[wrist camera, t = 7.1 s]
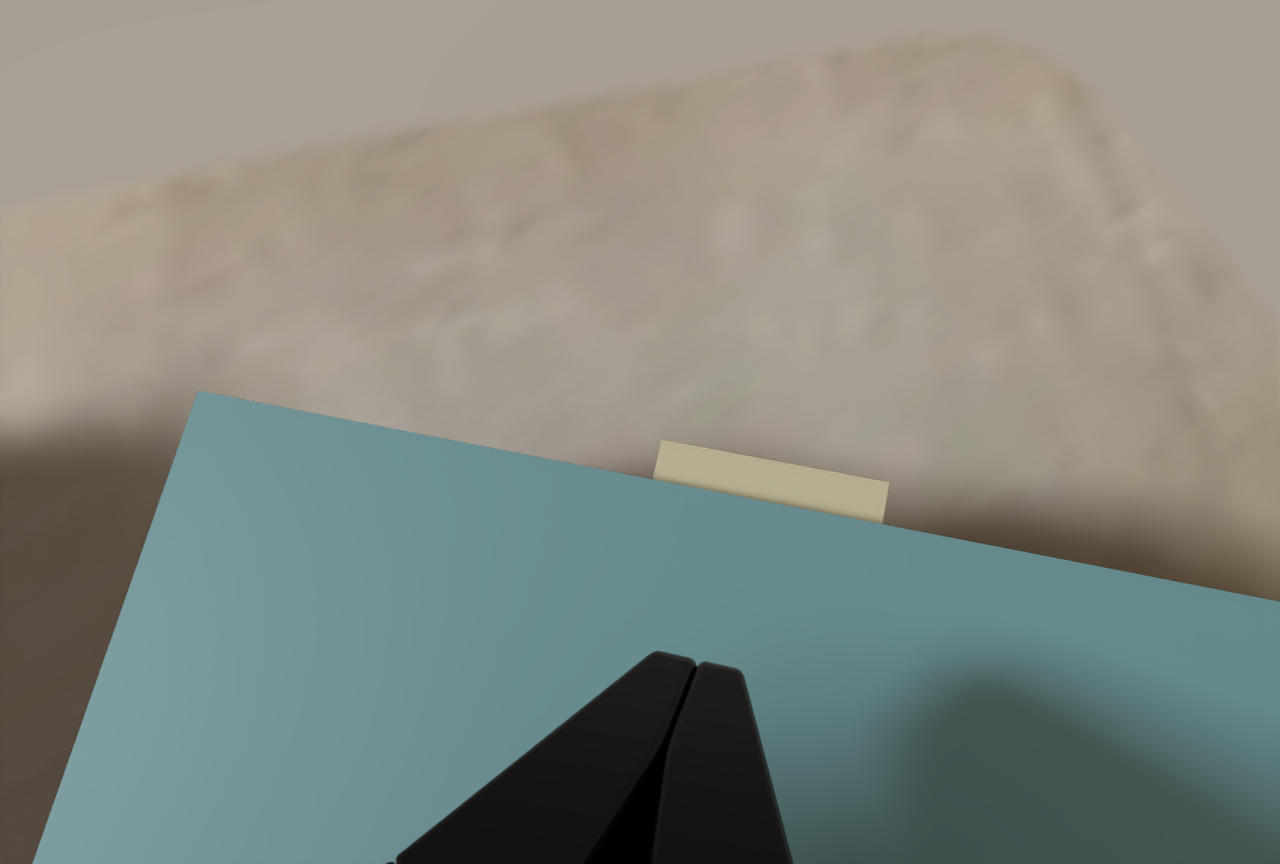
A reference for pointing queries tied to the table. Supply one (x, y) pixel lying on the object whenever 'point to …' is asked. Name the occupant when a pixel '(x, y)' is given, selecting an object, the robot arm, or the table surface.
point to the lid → (624, 635)
